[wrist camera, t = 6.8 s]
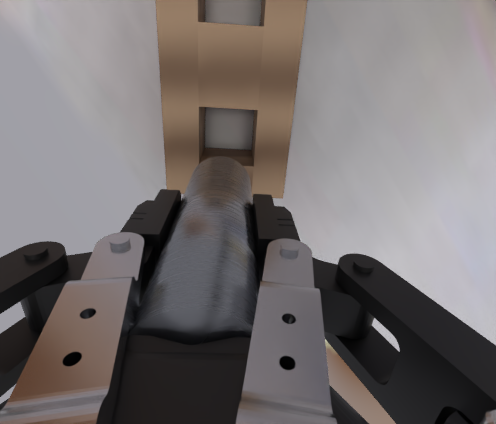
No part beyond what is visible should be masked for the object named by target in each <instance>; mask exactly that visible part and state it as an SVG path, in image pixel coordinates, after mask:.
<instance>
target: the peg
mask: <svg viewBox="0 0 496 424" xmlns="http://www.w3.org/2000/svg"><path fill="white" fill-rule="evenodd" d="M259 288H260V277H259V266H258V259H257V251H256V240H255V229H254V218H253V207H252V192H251V182H250V177H249V175H248V172H247V171H246V169H245V168H244V167H243V166H242V165H241V164H240V163H239V162H237V161H236V160H234V159H231V158H229V157H223V156H216V157H211V158H208V159H206V160H204V161H202V162H201V163H200V164H199V165H198V166H197V167H196V168H195V169H194V171H193V173H192V176H191V178H190V181H189V183H188V186H187V188H186V191H185V193H184V196H183V198H182V201H181V203H180V206H179V208H178V211H177V213H176V216H175V218H174V221H173V223H172V226H171V228H170V231H169V233H168V236H167V239H166V241H165V244H164V246H163V249H162V251H161V254H160V256H159V259H158V261H157V264H156V266H155V269H154V271H153V274H152V276H151V279H150V281H149V284H148V286H147V289H146V291H145V294H144V296H143V299H142V301H141V304H140V307H139V310H138V313H137V316H136V320H135V324H134V327H133V328H132V329H131V331H130V333H129V335H150V336H154V337H158V338H162V339H166V340H170V341H174V342H178V343H182V344H186V345H197V344H202V343H207V342H213V341H218V340H223V339H228V338H233V337H241V338H251V336H252V330H253V324H254V318H255V312H256V306H257V300H258V294H259Z"/></svg>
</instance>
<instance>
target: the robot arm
mask: <svg viewBox="0 0 496 424" xmlns="http://www.w3.org/2000/svg"><path fill="white" fill-rule="evenodd" d="M180 203H181V192H180V190H167V189H161V190H160V192H159V193H158V195H157V197H156V198H155V200H154V201H150V200H147V201H145V202H143V203H142V204H140V205H138V206H137V208H136V209H135V211H134V212H133V214H132V215H131V217H130V219H129V220H128V221H127V223H126V224H125V226H124V227H123V228H122V230H121V232H120V233H114V234H111V235H108V236H106V237H104V238H102V239H101V240H100V241H98V242H97V243H96V245H95V248H94V250H93V252H89V253H83V254H75V255H68V256H67V255H66V251H65V247H64V246H63V245H62V244H60V243H57V242H48V241H47V242H38V243H33V244H29V245H26V246H24V247H22V248H19V249H17V250H15V251H13V252H11V253H9V254H7V255H5V256H3V257H1V258H0V314H1V313H2V312H4V311H5V310H7V309H8V308H10V307H12V306H13V305H15V304H16V303H18V302H21V305H22V308H23V311H24V313H25V316H26V317H24V318H23V319H21V320H20V321H18V322H17V323H15V324H14V325H12V326H11V327H10V328H8V329H7V330H5V331H4V332H2V333H1V334H0V397H1V396H2V395H3V394H4V393H6V392H7V391H8V390H9V389H10V388H11V387H13V386H14V385H15V384H16V386H15V388H14V390H13V392H12V394H11V396H10V398H9V399H7V400H6V401H4V402H3V403H1V404H0V424H369V423H367V422H366V420H365V419H364V418H362V417H361V416H360V414H358V413H357V412H356V411H355V410H354V409H353V408H352V407H351V406H350V405H349V404H348V403H347V402H346V401H345V400H344V399H343V398H342V397H341V396H340V395H339V394H338V393H337V392H336V391H335V390H334V389H333V388H332V387H331V386H330V385H329V378H328V366H327V356H326V346H325V339H326V340H327V341H328V343H329V344H330V345H331V346H332V347H333V349H334V350H335V351H336V352H337V353H338V355H339V356H340V357H341V358H342V359H343V360H344V362H345V363H346V364H347V365H348V366H349V367H350V369H351V370H352V371H353V372H354V373H355V375H356V376H357V377H358V378H359V380H360V381H361V382H362V383H363V384H364V386H365V387H366V388H367V389H368V390H369V392H370V393H371V394H372V395H373V396H374V398H375V399H376V400H377V401H378V402H379V403H380V405H381V406H382V407H383V408H384V409H385V411H386V412H387V413H388V414H389V415H390V417H391V418H392V419H393V420H394V421H395V423H396V424H496V345H494V344H493V343H491V342H490V341H489V340H487V339H486V338H484V337H483V336H482V335H480V334H479V333H478V332H476V331H475V330H473V329H472V328H471V327H469V326H468V325H466V324H465V323H464V322H462V321H461V320H460V319H458V318H457V317H455V316H454V315H453V314H451V313H450V312H448V311H447V310H446V309H444V308H443V307H442V306H440V305H439V304H437V303H436V302H435V301H433V300H432V299H430V298H429V297H428V296H426V295H425V294H423V293H422V292H421V291H419V290H418V289H417V288H415V287H414V286H412V285H411V284H410V283H408V282H407V281H405V280H404V279H403V278H401V277H400V276H399V275H397V274H396V273H394V272H393V271H392V270H390V269H389V268H387V267H386V266H385V265H383V264H382V263H381V262H379V261H377V260H376V259H374V258H372V257H369V256H366V255H362V254H346V255H344V256H342V257H341V258H340V259H339V263H338V265H337V264H332V263H328V262H324V261H321V260H318V259H315V258H313V257H312V251H311V249H310V248H309V247H308V246H307V245H306V244H304V243H302V242H300V239H299V236H298V233H297V230H296V227H295V224H294V221H293V218H292V215H291V212H289V211H288V210H287V209H286V208H285V207H280V206H274V203H273V199H272V195H270V194H253V202H252V207H253V218H254V229H255V240H256V251H257V259H258V266H259V277H260V288H259V294H258V300H257V306H256V312H255V318H254V324H253V330H252V336H251V338H241V337H233V338H228V339H223V340H218V341H213V342H207V343H202V344H197V345H186V344H182V343H178V342H174V341H170V340H166V339H162V338H158V337H154V336H150V335H129V333H130V331H131V329H132V328H133V327H134V324H135V320H136V316H137V313H138V310H139V307H140V304H141V301H142V299H143V296H144V294H145V291H146V289H147V286H148V284H149V281H150V279H151V276H152V274H153V271H154V269H155V266H156V264H157V261H158V259H159V256H160V254H161V251H162V249H163V246H164V244H165V241H166V239H167V236H168V233H169V231H170V228H171V226H172V223H173V221H174V218H175V216H176V213H177V211H178V208H179V206H180ZM374 318H376V319H377V320H378V321H379V322H380V323H381V324H382V325H383V326H384V327H385V328H386V329H387V330H389V331H390V332H391V333H392V334H393V335H394V337H395V338H396V340H397V342H398V344H399V348H400V352H399V351H398V350H397V349H396V348H394V347H393V346H392V345H391V344H390V343H389V342H388V341H387V340H386V339H385V338H384V337H383V336H382V335H381V334H380V333H379V332H378V331H377V330H376V329H375V328H374V327H373V326H372V322H373V319H374Z"/></svg>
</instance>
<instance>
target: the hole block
mask: <svg viewBox="0 0 496 424" xmlns="http://www.w3.org/2000/svg"><path fill="white" fill-rule="evenodd" d="M306 6H307V0H262V4H261V19H260V26H248V25H235V24H221V23H208V22H205V0H156V15H157V32H158V48H159V65H160V82H161V99H162V116H163V132H164V149H165V166H166V183H167V190H180V192H181V194H184V193H185V191H186V188H187V186H188V183H189V181H190V178H191V176H192V173H193V171H194V169H195V168H196V167H197V166H198V165H199V164H200V163H201V162H202V161H204V160H206V159H208V158H211V157H216V156H223V157H229V158H231V159H234V160H236V161H237V162H239V163H240V164H241V165H242V166H243V167H244V168H245V169H246V171H247V172H248V175H249V177H250V182H251V192H252V197H253V194H270V195H272V198H283V193H284V185H285V177H286V169H287V161H288V153H289V145H290V136H291V128H292V120H293V112H294V104H295V96H296V88H297V80H298V71H299V63H300V55H301V47H302V39H303V31H304V23H305V15H306ZM205 107H214V108H231V109H247V110H254V121H253V136H252V150H238V149H219V148H205Z"/></svg>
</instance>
